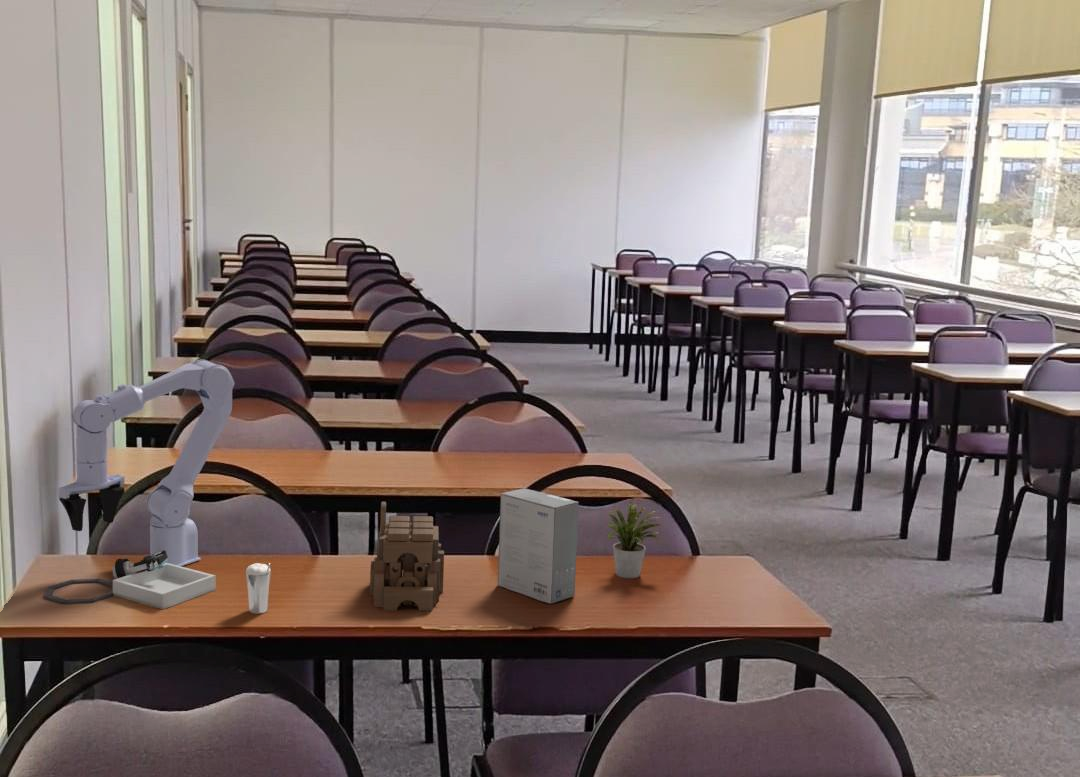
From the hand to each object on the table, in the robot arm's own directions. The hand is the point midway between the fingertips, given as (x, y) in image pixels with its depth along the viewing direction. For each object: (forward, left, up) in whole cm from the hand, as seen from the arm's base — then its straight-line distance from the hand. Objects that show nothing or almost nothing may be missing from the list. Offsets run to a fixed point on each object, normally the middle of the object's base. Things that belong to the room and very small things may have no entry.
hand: (92, 526), depth 231 cm
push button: (-3, +17, -5) cm, 18 cm away
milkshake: (-4, +41, -11) cm, 43 cm away
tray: (-1, +19, -10) cm, 22 cm away
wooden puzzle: (-30, +57, -11) cm, 65 cm away
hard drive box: (-45, +78, -11) cm, 91 cm away
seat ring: (+8, +6, -10) cm, 14 cm away
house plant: (-65, +89, -11) cm, 111 cm away
